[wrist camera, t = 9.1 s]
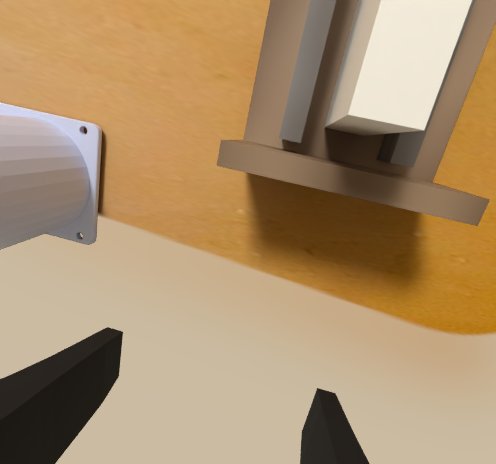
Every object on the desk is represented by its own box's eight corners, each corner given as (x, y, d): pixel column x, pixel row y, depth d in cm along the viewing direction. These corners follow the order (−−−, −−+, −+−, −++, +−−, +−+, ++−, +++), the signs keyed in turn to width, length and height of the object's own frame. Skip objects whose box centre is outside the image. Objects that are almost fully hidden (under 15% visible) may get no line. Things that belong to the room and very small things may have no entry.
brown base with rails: (244, 157, 18) (216, 165, 12) (294, -96, 15) (291, -269, 8) (414, 196, 17) (477, 226, 11) (513, -63, 14) (688, -230, 8)
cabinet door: (324, 127, 16) (348, 114, 8) (368, -36, 14) (456, -259, 6) (385, 140, 15) (468, 139, 8) (439, -25, 13) (625, -243, 6)
